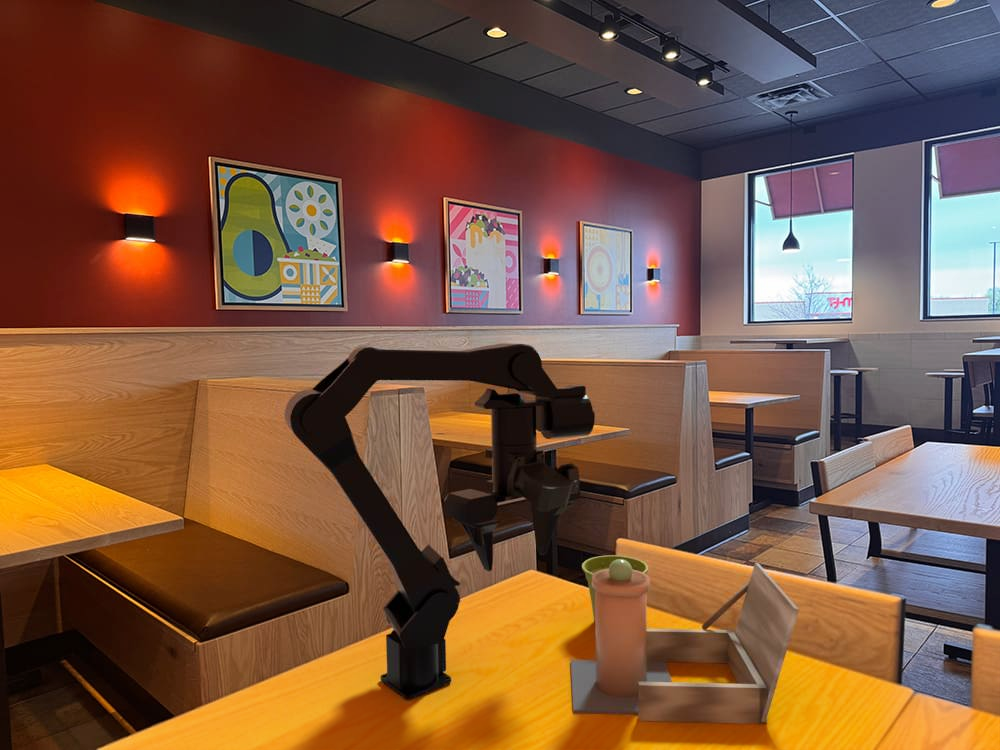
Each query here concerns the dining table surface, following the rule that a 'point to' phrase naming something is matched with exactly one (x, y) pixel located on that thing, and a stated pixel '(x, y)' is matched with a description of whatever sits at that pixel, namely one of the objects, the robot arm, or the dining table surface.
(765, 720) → the brown open rectangular box
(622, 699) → the mat
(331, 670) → the dining table surface
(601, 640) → the pink lidded canister
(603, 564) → the plant pot
